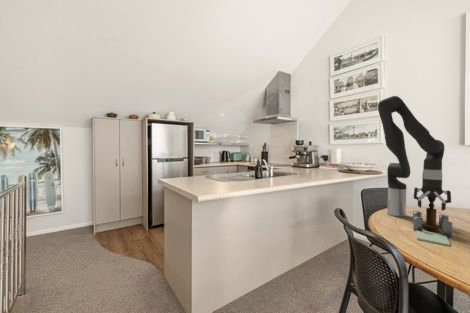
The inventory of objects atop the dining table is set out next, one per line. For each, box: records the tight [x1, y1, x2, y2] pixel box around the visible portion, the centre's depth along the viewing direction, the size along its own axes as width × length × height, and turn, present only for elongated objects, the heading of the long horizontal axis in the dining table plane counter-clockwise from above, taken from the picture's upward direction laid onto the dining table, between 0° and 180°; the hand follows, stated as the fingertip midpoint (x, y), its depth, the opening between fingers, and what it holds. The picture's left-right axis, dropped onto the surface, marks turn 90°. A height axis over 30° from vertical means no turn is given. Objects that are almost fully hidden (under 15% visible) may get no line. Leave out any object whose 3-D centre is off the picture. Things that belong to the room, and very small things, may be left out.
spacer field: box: [412, 210, 453, 239], centre depth 111 cm, size 14×16×7 cm
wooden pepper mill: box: [423, 197, 441, 233], centre depth 111 cm, size 7×6×18 cm
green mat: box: [415, 230, 451, 247], centre depth 100 cm, size 11×12×1 cm
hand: (431, 208), depth 110 cm, fingers open, 8 cm apart
